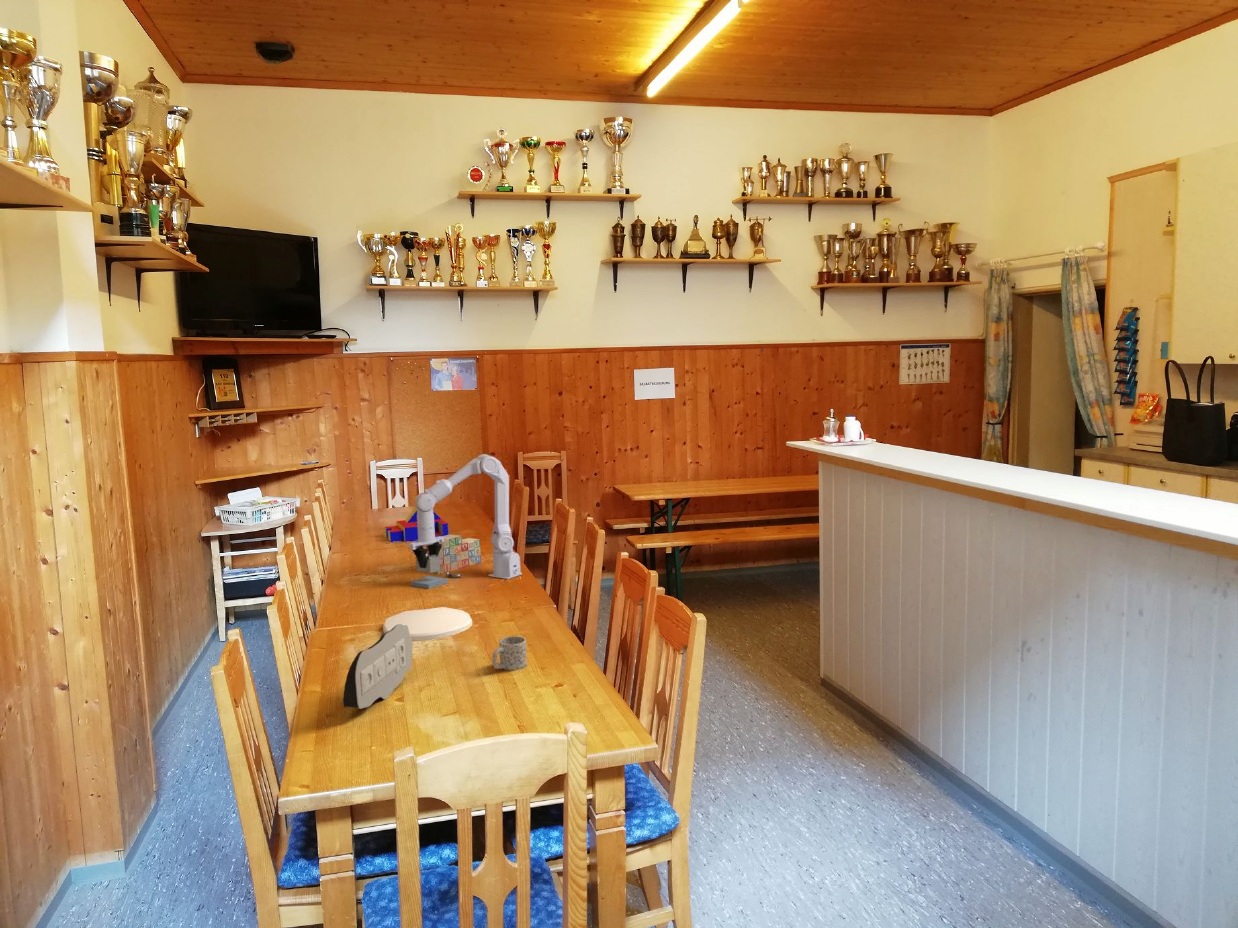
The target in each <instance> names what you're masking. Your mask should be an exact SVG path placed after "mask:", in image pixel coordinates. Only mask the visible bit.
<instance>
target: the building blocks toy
mask: <svg viewBox="0 0 1238 928" xmlns="http://www.w3.org/2000/svg"><path fill="white" fill-rule="evenodd" d="M419 494H420V493H417V494H416V493H415V494H414V500H415V499H416V497H417V495H419ZM417 508H418V507H417V506H416V505H415V507H414V508H413V510H412V512H411V513H410V514H409V516H407V517H406V519H403V520H396V521H395V522H396V525H389V526H383V528H384V529H383V533H384V538H385V537H386V538H388V539H387V540H389V541H390V542H392V543H394V542H393V541H401V542H405V541H410V542H416V541H417V540H418V526H417ZM433 514H434V528H435V537H439V536H446V535H449V522H447V521H446V520H443V519H442V518H441V517H440V516H438V514H437V513H436V512H435V511H434V510H433ZM386 538H385V539H386ZM389 541H388V542H389ZM390 542H389V543H390Z"/></svg>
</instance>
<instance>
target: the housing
mask: <svg viewBox="0 0 1238 928" xmlns="http://www.w3.org/2000/svg"><path fill="white" fill-rule="evenodd" d="M415 569H416V572H422V573H426V574H427V573H429V574H434V573H433V572H436V571H439V570H440V557H439V556H436V555H429V554H428V553H426V567H425V568H420V566H419V563H418V560H417V558H416V557H415Z"/></svg>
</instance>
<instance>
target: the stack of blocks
mask: <svg viewBox="0 0 1238 928" xmlns="http://www.w3.org/2000/svg"><path fill="white" fill-rule="evenodd" d="M442 537H444V542H440V543H439V544H442V548H441V549H440V552H439V554H438V556H439V557H440V570H439V571H436V572H433V573H432V574H434V573H435V574H436V575H441V574H444V573H445V574H446V572H451V571H456V570H459V569H463V568H465V567H470V566H473V565H477V564H481V563H482V555H481V553H482V552H481V542H480V538H479V539H478V538H474V537H473V538H472V537H468V538H463V537H462V535H457V534H452V533H451V534H450V533H449V534H448V535H446V536H442ZM425 549H427V553H428V554H429V551H428V547H427V546H425ZM469 565H470V566H469ZM462 567H463V568H462ZM455 569H456V570H455ZM440 573H441V574H440Z"/></svg>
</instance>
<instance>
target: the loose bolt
mask: <svg viewBox="0 0 1238 928" xmlns="http://www.w3.org/2000/svg"><path fill="white" fill-rule="evenodd" d="M445 578H460V579H461V578H462V574H461V573H451V571H448V572H445Z"/></svg>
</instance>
